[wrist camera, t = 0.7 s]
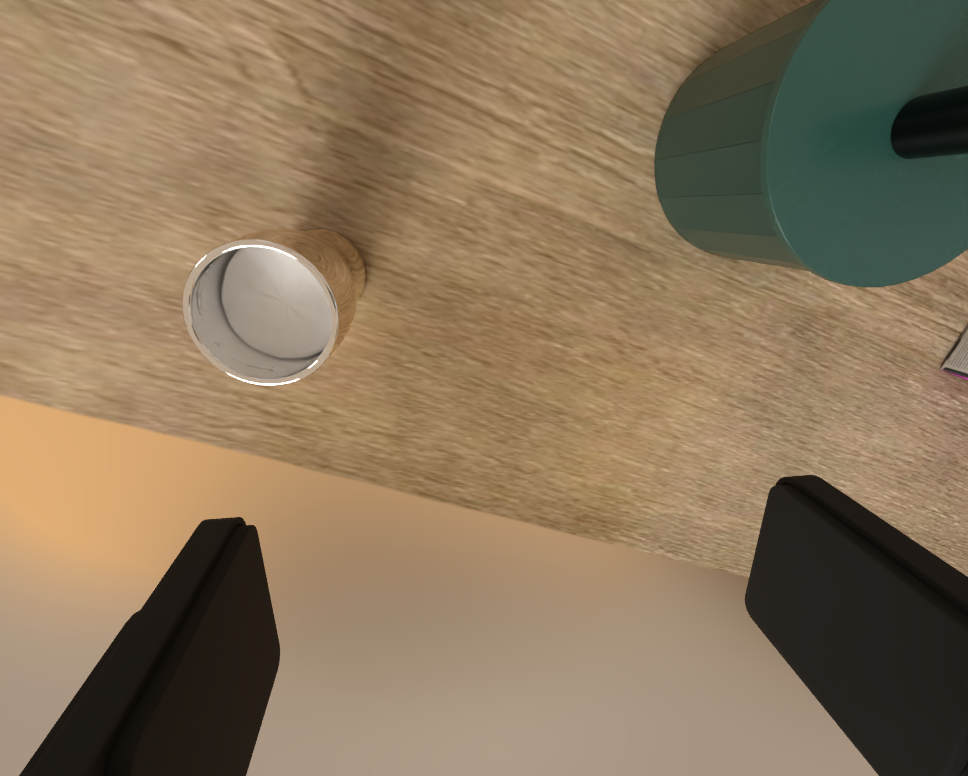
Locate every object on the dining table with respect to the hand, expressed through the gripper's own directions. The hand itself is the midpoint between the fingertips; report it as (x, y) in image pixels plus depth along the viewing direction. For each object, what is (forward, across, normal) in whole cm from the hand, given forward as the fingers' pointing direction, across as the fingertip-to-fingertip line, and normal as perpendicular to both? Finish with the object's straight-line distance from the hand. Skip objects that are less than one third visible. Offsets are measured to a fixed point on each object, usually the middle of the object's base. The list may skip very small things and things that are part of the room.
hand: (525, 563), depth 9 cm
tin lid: (+18, -23, -10) cm, 30 cm away
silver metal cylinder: (+31, +9, -2) cm, 32 cm away
